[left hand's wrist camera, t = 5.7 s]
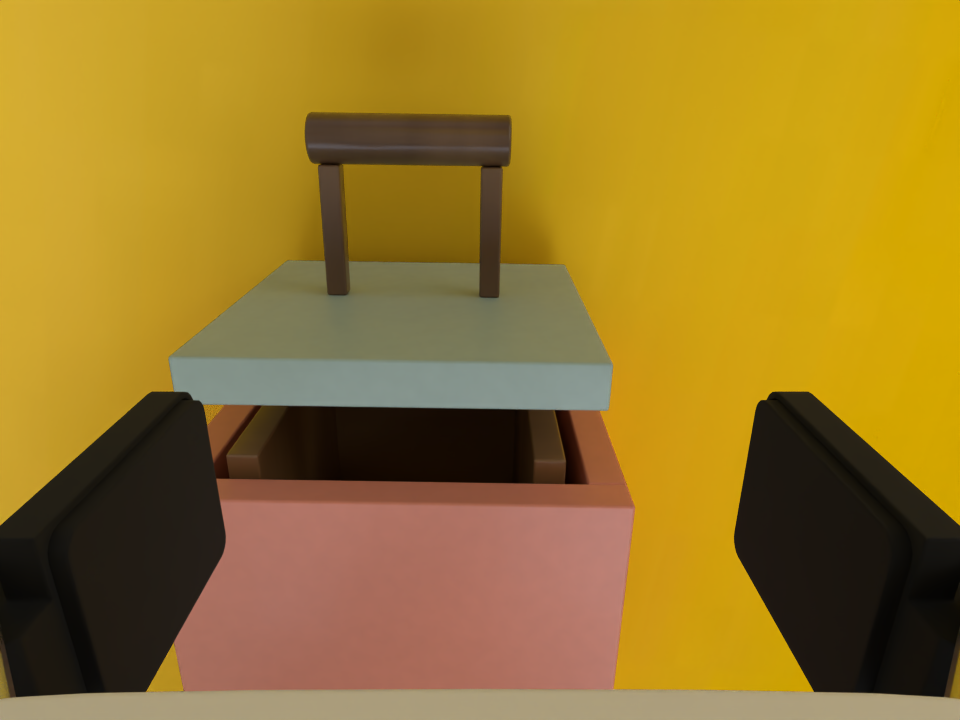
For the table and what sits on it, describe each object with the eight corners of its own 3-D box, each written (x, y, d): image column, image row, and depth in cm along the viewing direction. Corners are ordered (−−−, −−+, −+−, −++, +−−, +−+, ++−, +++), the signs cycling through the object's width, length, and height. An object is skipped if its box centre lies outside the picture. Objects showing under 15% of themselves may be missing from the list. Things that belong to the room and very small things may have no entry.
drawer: (271, 108, 22) (125, 115, 13) (574, 113, 22) (637, 123, 13) (326, 673, 31) (262, 905, 22) (539, 677, 31) (561, 910, 22)
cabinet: (285, 332, 26) (143, 499, 15) (572, 336, 26) (636, 506, 15) (325, 722, 33) (249, 1016, 23) (545, 725, 33) (574, 1021, 23)
